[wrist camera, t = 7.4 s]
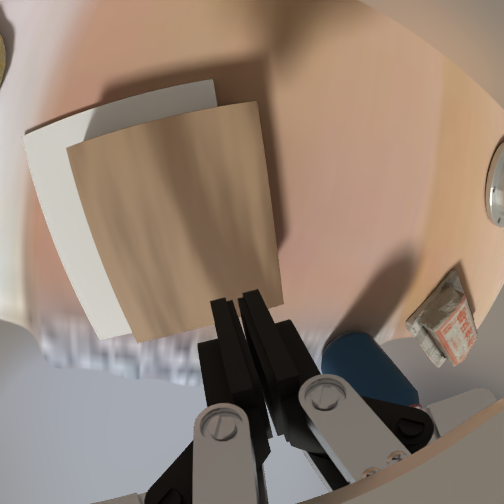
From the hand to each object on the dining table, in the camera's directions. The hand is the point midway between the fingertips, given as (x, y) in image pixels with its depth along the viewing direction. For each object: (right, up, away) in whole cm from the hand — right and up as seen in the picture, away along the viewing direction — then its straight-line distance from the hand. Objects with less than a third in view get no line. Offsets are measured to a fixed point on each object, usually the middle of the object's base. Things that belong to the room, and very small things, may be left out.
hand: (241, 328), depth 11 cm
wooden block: (+1, +6, +10) cm, 12 cm away
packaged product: (+29, -8, +29) cm, 41 cm away
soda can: (+11, -9, +23) cm, 27 cm away
